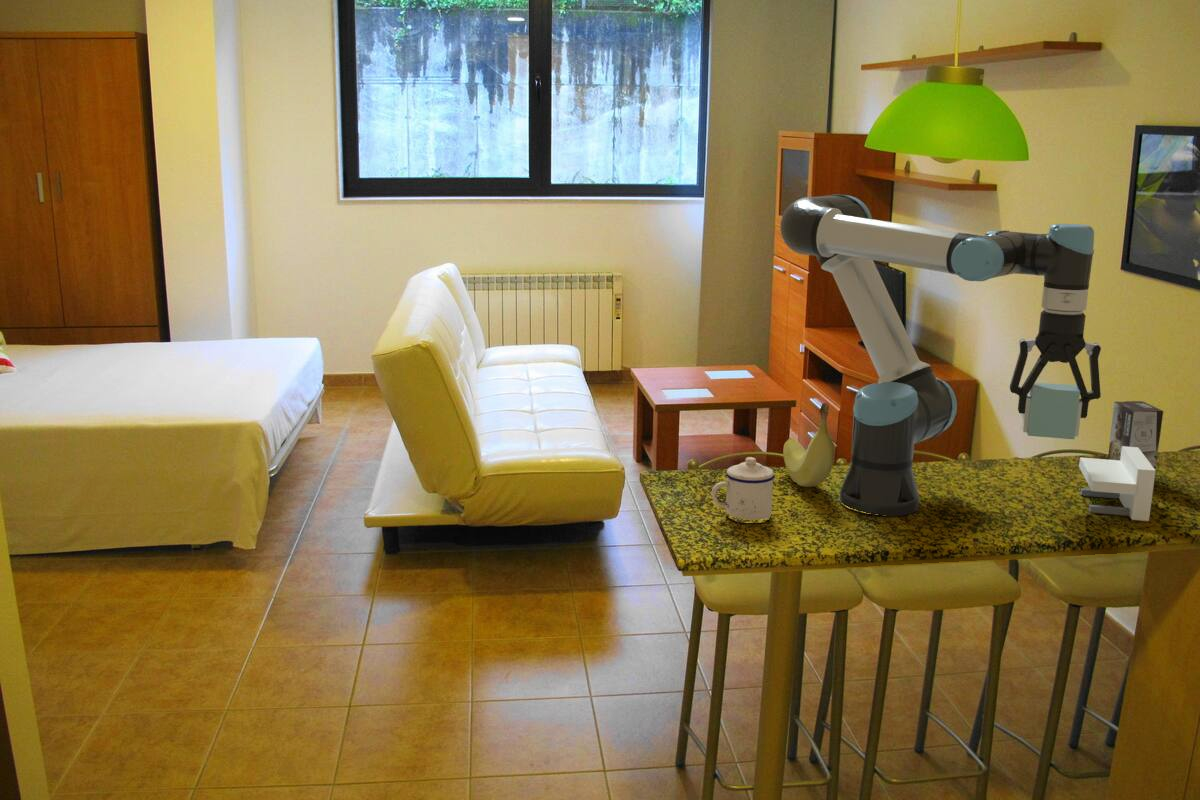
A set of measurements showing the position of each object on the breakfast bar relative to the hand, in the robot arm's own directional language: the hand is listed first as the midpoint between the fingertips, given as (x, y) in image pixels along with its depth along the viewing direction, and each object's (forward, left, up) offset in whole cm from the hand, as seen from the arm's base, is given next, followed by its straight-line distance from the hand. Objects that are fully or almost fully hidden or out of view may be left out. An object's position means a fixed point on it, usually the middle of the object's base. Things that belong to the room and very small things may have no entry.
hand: (1049, 432), depth 202 cm
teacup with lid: (-55, -14, -17) cm, 59 cm away
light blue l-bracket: (0, +9, 0) cm, 9 cm away
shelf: (+14, +13, -17) cm, 26 cm away
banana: (-45, +9, -17) cm, 49 cm away
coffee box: (+21, +32, -17) cm, 42 cm away
